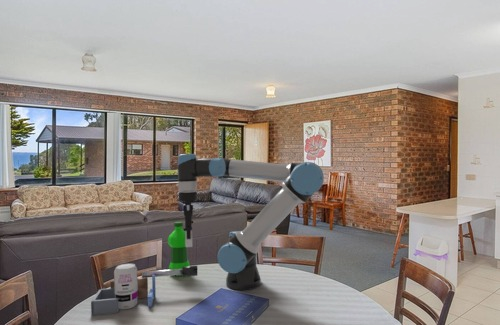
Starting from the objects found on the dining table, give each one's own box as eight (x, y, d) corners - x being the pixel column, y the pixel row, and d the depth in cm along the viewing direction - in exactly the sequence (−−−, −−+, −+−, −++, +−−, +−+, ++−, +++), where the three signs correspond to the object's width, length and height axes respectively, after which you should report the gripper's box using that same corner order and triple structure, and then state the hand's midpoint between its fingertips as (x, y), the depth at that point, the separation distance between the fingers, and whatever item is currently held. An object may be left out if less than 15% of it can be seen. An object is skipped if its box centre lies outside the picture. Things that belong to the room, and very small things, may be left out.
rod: (197, 289, 144) (197, 264, 144) (198, 301, 131) (197, 274, 131) (143, 294, 140) (142, 268, 140) (138, 307, 127) (138, 279, 127)
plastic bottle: (185, 278, 159) (183, 224, 159) (164, 276, 162) (163, 223, 161) (194, 271, 169) (192, 220, 168) (174, 270, 171) (173, 220, 171)
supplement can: (131, 299, 136) (130, 261, 136) (141, 305, 130) (140, 266, 130) (111, 305, 130) (110, 266, 130) (120, 312, 125) (119, 271, 124)
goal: (124, 299, 136) (123, 287, 136) (117, 312, 124) (117, 299, 124) (99, 301, 134) (99, 289, 134) (91, 315, 122) (91, 301, 122)
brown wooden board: (148, 295, 139) (147, 277, 139) (147, 297, 138) (147, 278, 138) (111, 299, 137) (111, 280, 137) (110, 300, 135) (110, 281, 135)
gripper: (179, 189, 153) (180, 236, 153) (177, 194, 128) (178, 251, 128) (196, 188, 154) (197, 235, 154) (197, 193, 130) (199, 249, 130)
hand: (189, 242), depth 141 cm, fingers open, 13 cm apart
